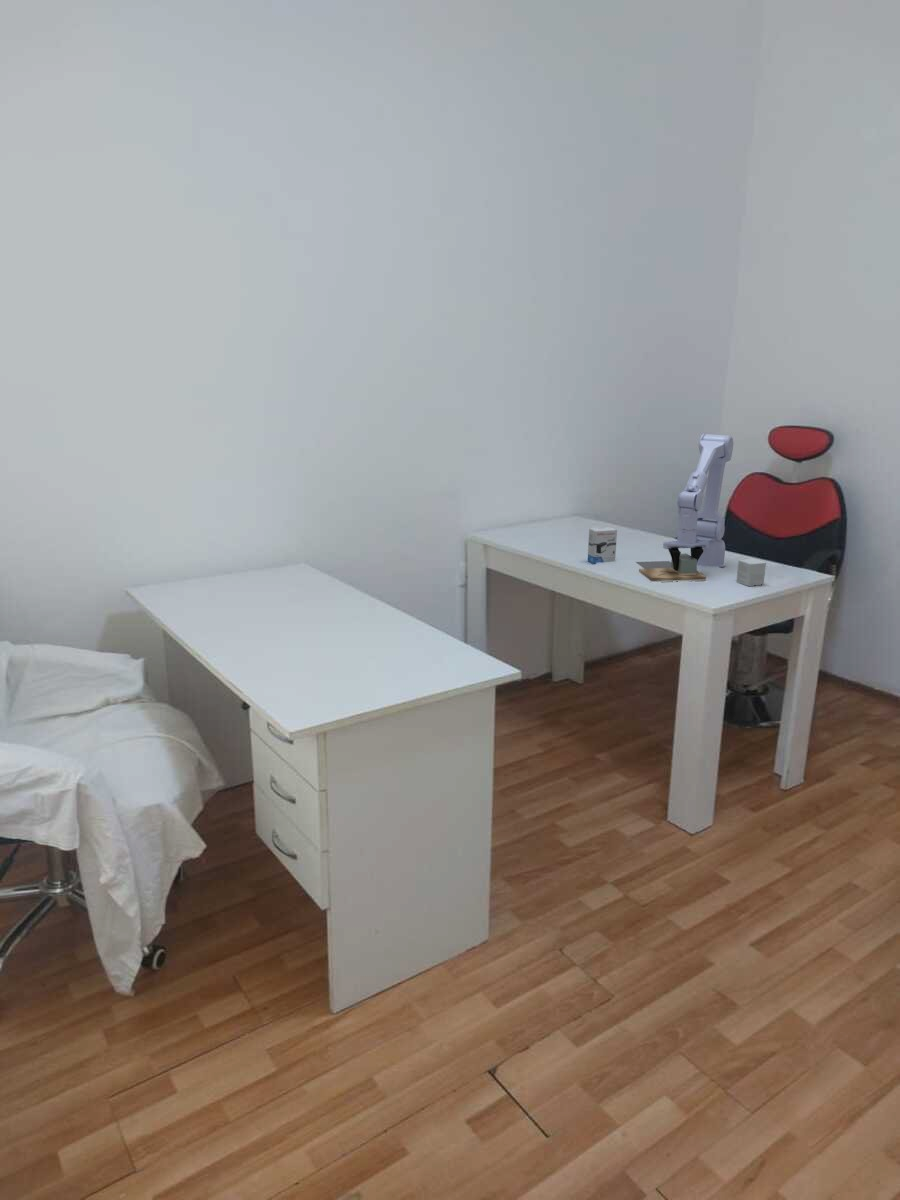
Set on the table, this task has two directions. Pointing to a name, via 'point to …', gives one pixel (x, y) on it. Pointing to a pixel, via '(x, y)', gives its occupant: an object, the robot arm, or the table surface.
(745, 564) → the product box
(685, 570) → the block
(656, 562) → the rubber mat
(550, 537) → the table surface
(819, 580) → the table surface
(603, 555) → the ink box
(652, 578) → the oak board
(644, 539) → the table surface
